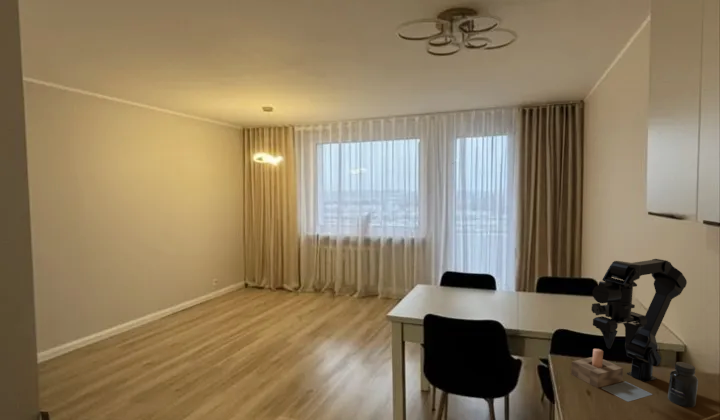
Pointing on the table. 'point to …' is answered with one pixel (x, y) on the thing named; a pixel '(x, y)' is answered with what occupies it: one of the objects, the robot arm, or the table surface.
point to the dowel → (597, 358)
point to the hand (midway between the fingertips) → (618, 346)
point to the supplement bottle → (683, 385)
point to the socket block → (597, 372)
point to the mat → (626, 391)
